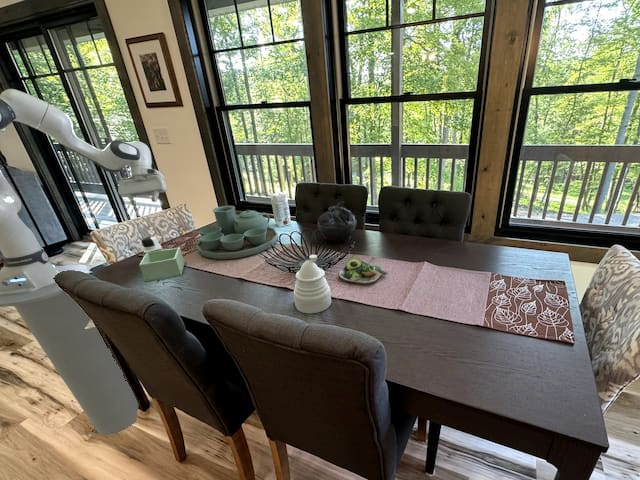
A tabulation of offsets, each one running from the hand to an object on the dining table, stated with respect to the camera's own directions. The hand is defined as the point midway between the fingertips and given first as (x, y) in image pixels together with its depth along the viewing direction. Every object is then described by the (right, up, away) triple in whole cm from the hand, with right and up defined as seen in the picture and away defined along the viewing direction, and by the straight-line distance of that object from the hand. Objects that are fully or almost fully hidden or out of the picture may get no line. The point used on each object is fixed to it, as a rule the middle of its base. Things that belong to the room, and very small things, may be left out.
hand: (143, 202), depth 146 cm
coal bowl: (+90, -16, +19) cm, 93 cm away
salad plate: (+102, -34, -16) cm, 108 cm away
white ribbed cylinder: (+55, -4, +44) cm, 70 cm away
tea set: (+38, -18, +19) cm, 46 cm away
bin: (+15, -32, -7) cm, 36 cm away
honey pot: (+85, -44, -34) cm, 101 cm away
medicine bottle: (+4, -28, +3) cm, 28 cm away
